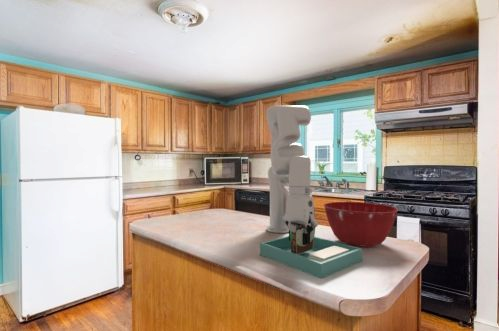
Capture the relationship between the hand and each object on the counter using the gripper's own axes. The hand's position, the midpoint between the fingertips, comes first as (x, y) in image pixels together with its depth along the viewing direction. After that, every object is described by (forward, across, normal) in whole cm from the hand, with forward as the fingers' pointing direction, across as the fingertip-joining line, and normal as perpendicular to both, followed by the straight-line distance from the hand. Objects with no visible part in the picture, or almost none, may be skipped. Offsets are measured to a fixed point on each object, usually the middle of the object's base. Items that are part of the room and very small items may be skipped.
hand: (299, 241), depth 100 cm
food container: (+3, +1, 0) cm, 3 cm away
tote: (+5, -5, 0) cm, 7 cm away
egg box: (+4, -13, 0) cm, 13 cm away
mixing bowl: (+6, -5, -32) cm, 33 cm away
